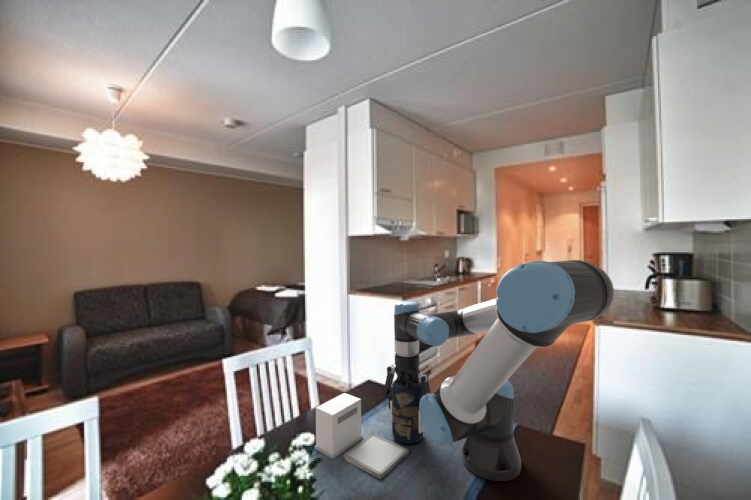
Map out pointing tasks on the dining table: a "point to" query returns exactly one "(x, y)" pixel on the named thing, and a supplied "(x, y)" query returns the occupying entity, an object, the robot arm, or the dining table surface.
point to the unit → (338, 424)
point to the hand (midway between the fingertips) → (407, 425)
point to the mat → (376, 455)
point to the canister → (405, 412)
